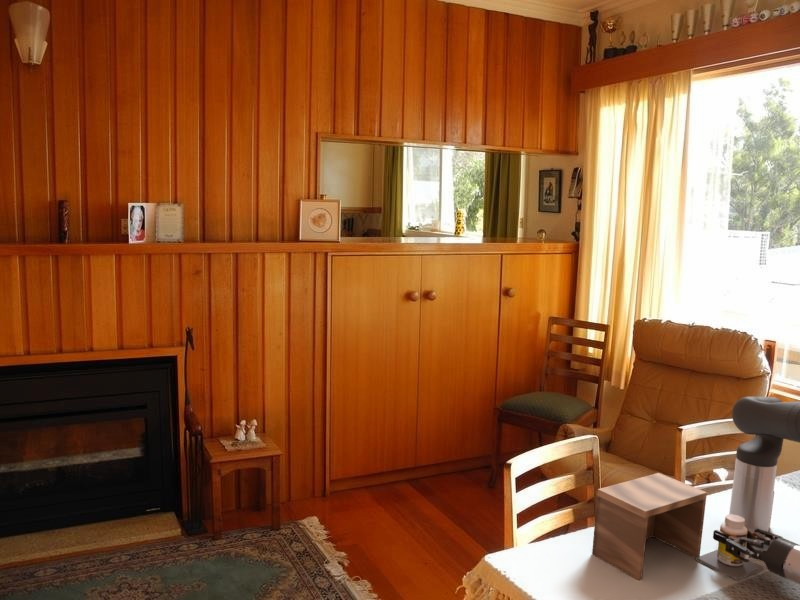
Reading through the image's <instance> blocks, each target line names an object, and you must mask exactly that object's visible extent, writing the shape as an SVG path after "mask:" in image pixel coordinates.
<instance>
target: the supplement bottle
mask: <svg viewBox="0 0 800 600" xmlns="http://www.w3.org/2000/svg"><path fill="white" fill-rule="evenodd" d="M724 517H725V518H724V522H722V523H720V525H719V526H720V527H719V531H721V532H724V533H726V534H728V535H730V536H733V537H736V538H741V537H745V538H747V528H746V527H745V526H744V525H745V519H744V518H743V517H741V516H738V515H733V514H726V515H725V516H724ZM734 542H735V541H734ZM736 543H738V544H740V543H739V542H736ZM746 543H747V542H744V547H746ZM725 548H726V545H725V544H723V543H721V542H718V544H717V550H718V552H717V558H718V560H719V561H721V562H722V563H724V564H727V565H730V566H740V565H742V564H743V563H744V561H742V560H740V559H739V558H737V557H735V556H733V555H732V554H730V553H728V552H727V551H725ZM732 550H733V549H732Z"/></svg>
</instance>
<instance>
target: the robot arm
mask: <svg viewBox="0 0 800 600" xmlns="http://www.w3.org/2000/svg"><path fill="white" fill-rule="evenodd" d="M731 417H732V422H733V423H734V425H735V427H736V428H737V429H738V431H740V432H741V433H744V434H746V435H752V436H753V435H755V436H754V437H753V438H752V439H750V440H749V441H748V440H747V441H746V442H743V443H741V444H739V445H738V447H737V449H736V455H735V462H734V463H735V464H734V472H733V480H732V481H733V482H732V490H731V498H730V505H729V514H733V515H738V516H741V517H743V518H744V519H745V525H744V526H745V527H746V528H747V538H745V537H741V538H736V537H733V536H730V535H728V534H726V533H724V532H721V531H720V529H714V530H713V534H712V538H713V541H716V542H718V543H719V542H721V543H723V544H725V545H726V548H725V551H727V552H728V553H730V554H732V555H733V556H735V557H737V558H739V559H740V560H742V561H744V562H749V560H750V559H753V560H754V559H755V560H757V561H761V562H763V563H764V565H765V567H766V569H767V570H768V571H769V572H771V573H773V574H775V575H777V576H779V577H781V578H783V579H785V580H787V581H789V582H793V583H795V584H796V585H799V586H800V544H799V543H796V542H793V541H790V540H789V539H787V538H784V537H783V536H780V535H778V534H775V533H772V532H769V531H770V530H769V529H770V527H771V521H772V515H773V504H774V497H775V483H776V475H777V467H778V460H779V457H780V455H781V453H782V451H783V450H782V449H783V445H784V440H788V441H791V442H795V443H799V444H800V401H783V400H782V399H780V398H779V397H775V396H744V397H741V398H739V400H737V401H736V402H735V404H734V405H733V407H732V410H731ZM729 514H728V515H729ZM734 541H735V542H734ZM736 542H739V543H740V544H738V543H736ZM744 542H746V547H744ZM732 549H733V550H732Z"/></svg>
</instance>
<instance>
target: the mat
mask: <svg viewBox="0 0 800 600" xmlns="http://www.w3.org/2000/svg"><path fill="white" fill-rule="evenodd" d="M717 552H718V549H715V550H713V551H710V552H707V553H705V554H702V555H700V556H699V557H697V558H696V557H695V560H696V561H697V562H699V563H701V564H703V565H704V566H707V567H709V568H711V569H713V570H715V571H717V572H719V573H721V574H723V575H725V576H728V577H729V578H731V579H734V580H735V581H738V580H741V579H743V578H745V577H748V576H750V575H752V574H755V573H757V572H759V571H762V570H764V565H761V564H759V563H757V562H755V561H752V560H750V559H749V562H744V563H743V564H742V565H740V566H730V565H727V564H724V563H722V562H721V561H719V560H718V558H717Z"/></svg>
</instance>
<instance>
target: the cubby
mask: <svg viewBox="0 0 800 600" xmlns="http://www.w3.org/2000/svg"><path fill="white" fill-rule="evenodd" d="M707 496H708V493H707V492H706V491H704V490H702V489H700V488H698V487H697V488H696V487H695V486H692V485H689V484H688V483H685V482H682V481H680V480H679V479H678V480H677V479H675V478H673V477H671V476H668V475H665V474H663V473H661V472H655V473H653V474H650V475H646V476H642V477H638V478H635V479H631V480H630V479H629V480H628V481H627V480H626V481H624V482H620V483H615V484H611V485H609V486H605V487H601V488H597V494H596V504H595V505H596V507H595V519H594V527H593V528H594V530H593V539H592V550H591V554H592V555H593V556H594V555H595V557H596V558H599V559H600V560H601V561H603V562H605V563H607V564H609V565H611V566H612V567H614V568H616V569H617V570H619V571H621V572H623V573H625V574H626V575H628V576H630V577H632V578H633V579H635V580H637V581H641V580H642V578H643V570H644V563H645V562H644V560H645V550H646V540H647V539H650V538H653V537H654V539H657V540H660V541H662V542H663V543H666V544H667V545H670V546H672V547H673V546H674V547H673V548H675V549H678V550H679V549H680V550H679V551H681V552H683V551H684V553H686V554H687V555H689V556H691V557H694V558H695V559H696V558H697V557H699V556H701V549H702V539H703V532H704V531H703V529H704V528H703V527H704V520H705V513H706V511H705V510H706V503H707Z"/></svg>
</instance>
